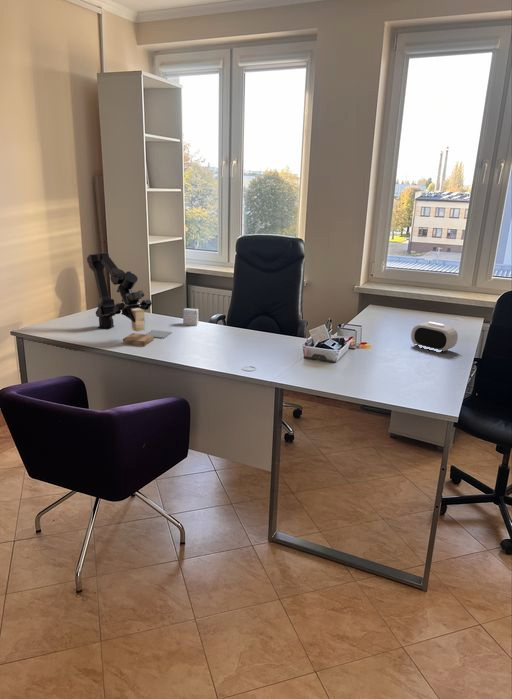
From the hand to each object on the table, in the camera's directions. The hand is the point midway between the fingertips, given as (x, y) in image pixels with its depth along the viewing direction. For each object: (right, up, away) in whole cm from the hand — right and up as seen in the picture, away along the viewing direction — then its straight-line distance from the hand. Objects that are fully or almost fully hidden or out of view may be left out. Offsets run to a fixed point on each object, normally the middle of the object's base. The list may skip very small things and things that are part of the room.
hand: (139, 321), depth 243 cm
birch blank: (-1, -4, +2) cm, 5 cm away
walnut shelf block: (-1, -10, +4) cm, 11 cm away
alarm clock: (+146, -13, +15) cm, 148 cm away
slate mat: (+5, -6, +18) cm, 19 cm away
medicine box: (+19, 0, +40) cm, 45 cm away
